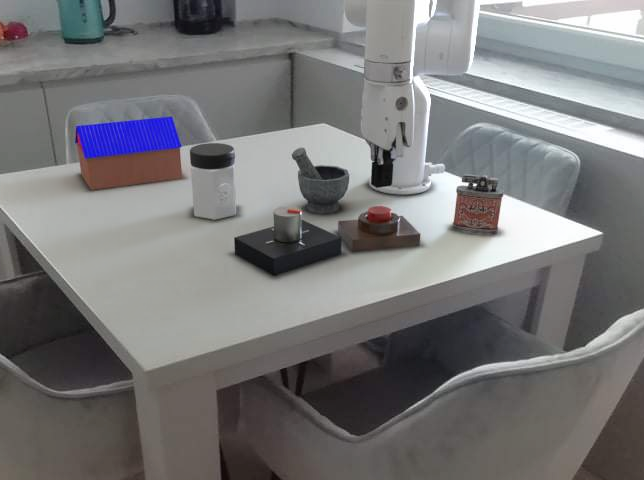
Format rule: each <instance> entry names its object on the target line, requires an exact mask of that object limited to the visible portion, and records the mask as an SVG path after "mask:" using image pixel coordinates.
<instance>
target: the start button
mask: <svg viewBox="0 0 644 480" xmlns="http://www.w3.org/2000/svg"><path fill="white" fill-rule="evenodd" d="M367 211H368V218H367V219H368V220H370V221H372V222H388V221H390V220H391V212H392V209H391V208H390V207H387V206H383V205H375V206H371V207H369V208H368V209H367Z"/></svg>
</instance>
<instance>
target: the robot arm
mask: <svg viewBox="0 0 644 480" xmlns="http://www.w3.org/2000/svg"><path fill="white" fill-rule="evenodd" d="M480 4H481V0H343V10H344V15H345V17H346V19H347V21H348V23H350V24H351V25H352V26H354V27H359V28H365V37H364V39H365V41H364V62H363V82H364V84H363V91H362V99H361V109H360V134H361V136H362V137H363V138H365V142H366V144H367V145H368V146H369V149H370V161H372V162H371V175H370V177H369V181H368V184H369V186H370V188H372V189H373V190H375V191H378V192H381V193H384V194H388V195H389V194H390V195H401V196H402V195H403V196H405V195H414V194H415V195H416V194H420V193H424V192H426V191H428V190H429V189H430V188H431V183H432V182H431V179H430V178H429V177H431V176H432V175H434V174H435V175H438V174H444V173H445V171H446V165H445V164H444V163H436V164H433V162H431V161H430V162H426V155H427V143H428V132H429V121H430V112H431V111H430V110H431V96H430V92H429V90H428V88H427V86H426V85H425V83H424V82H423V79H421V78H420V76H426V75H427V76H428V75H431V76H449V77H450V76H453V77H454V76H462V75H464V74H466V73H467V72H468V71H469V70H470V68H471V66H472V63H473V59H474V53H475V46H476V39H477V31H478V30H477V29H478V22H479V15H480ZM434 16H442V17H443V16H445V17H446V16H447V17H450V18H451V19H452V20H451V19H450V20H447V19H431V18H433V17H434Z"/></svg>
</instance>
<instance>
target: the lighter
mask: <svg viewBox="0 0 644 480" xmlns="http://www.w3.org/2000/svg"><path fill="white" fill-rule="evenodd" d="M461 183H466V184H468V185H457V186H456V190H455V192H456V198H455V199H456V200H455V207H454V217H453V221H452V224H451V225H452V226H451V229H452V230H454V231H458V232H461V233H462V232H463V233H468V234H475V235H476V234H477V235H488V236H489V235H490V236H493V235H494V236H495V235H497V234H498V233H499V221H500V213H501V207H502V201H503V200H502V199H503V197H504V193H505V191H504V190H503V189H501V188H498V184H499V178H498V177H492V176H491V177H490V176H488V174H487V173H482V174H481V175H477V174H470V173H463V174H462V175H461ZM474 184H475V185H474Z"/></svg>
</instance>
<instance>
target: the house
mask: <svg viewBox="0 0 644 480" xmlns="http://www.w3.org/2000/svg"><path fill="white" fill-rule="evenodd" d="M74 144H76V147H77V155H78V161H79V168H80V174H81V176H82V178H83V180H84V181H85V183H86V184H87V186H88V187H89V189H90V191H94V190H102V189H110V188H117V187H126V186H131V185H132V186H134V185H139V184H140V185H141V184H150V183H155V182H157V183H158V182H164V181H173V180H179V179H183V172H182V171H183V169H182V158H181V148H182V144H181V141H180V137H179V134H178V131H177V128H176V124H175V121H174V119H173V116H162V117H153V118H142V119H133V120H132V119H131V120H121V121H111V122H103V123H102V122H101V123H93V124H83V125H76V126H75V139H74Z"/></svg>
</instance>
